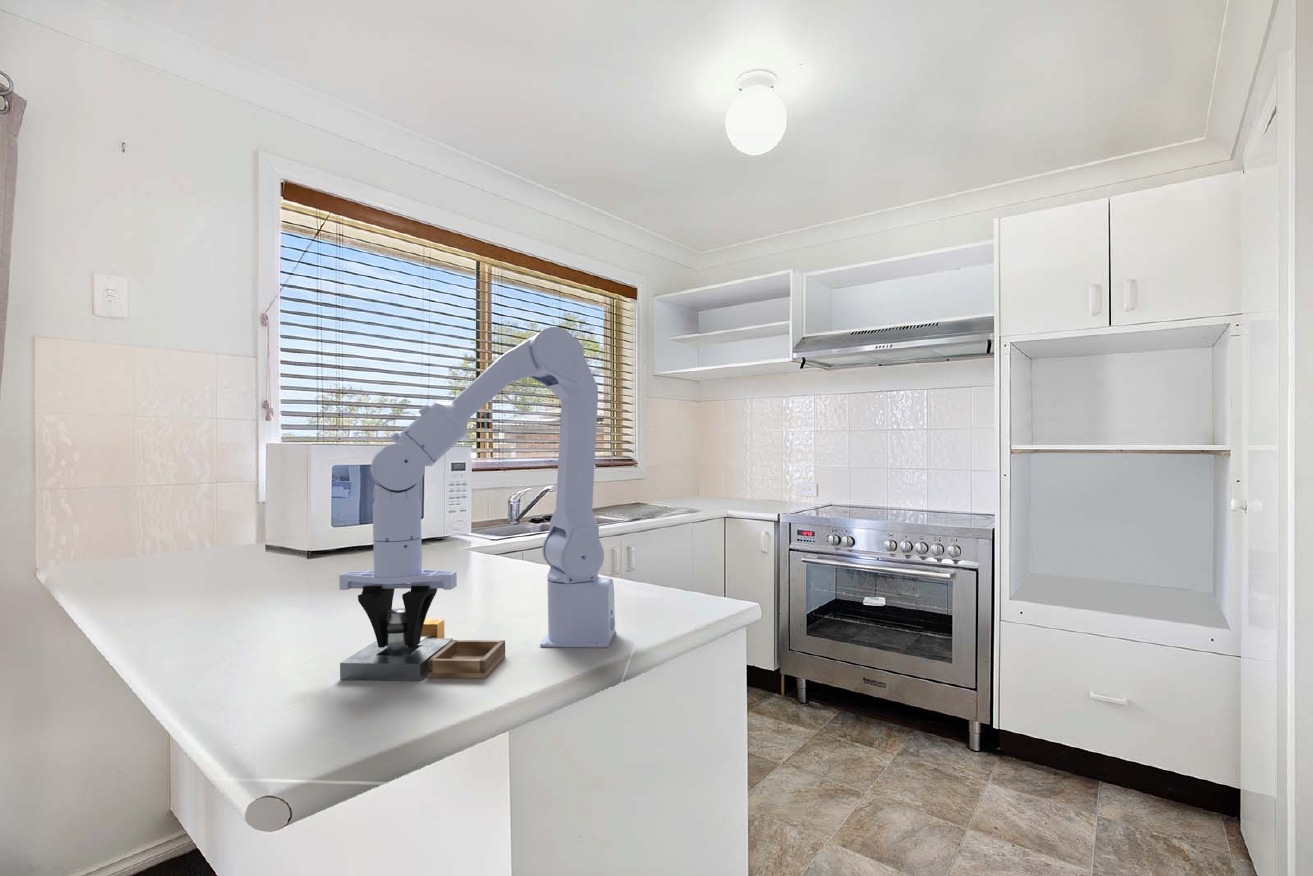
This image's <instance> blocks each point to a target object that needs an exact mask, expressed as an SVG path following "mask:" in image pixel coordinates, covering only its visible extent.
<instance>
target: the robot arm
mask: <svg viewBox="0 0 1313 876" xmlns="http://www.w3.org/2000/svg"><path fill="white" fill-rule="evenodd" d="M527 378H531V379H533V380H535V381H537V382H538V383H541V384H542V385H545V387H547V388H548V389H549V390H550V391H551V392H552V393H553V394H554V395H555V396H556V397H557V398H558V399H559V400H560V403H561V406H560V423H559V442H558V443H559V444H558V458H557V459H558V461H557V479H556V480H557V481H556V482H557V484H556V499H555V500H556V502H555V510H554V512H553V514H552V516H551V518H550V521H549V530H548V532H547V535H546V537H545V539H543V543H542V551H541V552H542V556H543V559H544V561H545V562H546V564H547V565H548V566H549V567H550V569H549V571H548V573H547V574H546V575H547V577H546V578H547V627H548V628H547V629H548V633H547V635H546V636H545V637H544V638H543V639H542V640H541V642H540V644H539V647H540V648H596V649H597V648H599V649H600V648H605V649H606V648H608V647H609V645H610V644H611V642H612V640H613V638H614V635H615V633H616V619H615V617H616V615H615V611H616V609H615V586H614V579H613V578H611V577H601V576H599V571H600V570H601V569H602V567H603V563H604V559H605V552H604V548H603V546H602V543H601V541H600V534H599V533H600V526H599V524H598V522H597V519H596V517H595V514H594V512H593V505H594V504H593V503H594V500H593V499H594V484H595V483H594V482H595V481H594V480H595V466H596V465H595V464H596V462H595V461H596V443H597V441H596V440H597V422H598V421H597V420H598V404H599V403H598V402H599V400H598V399H599V388H598V383H597V382H596V379H595V377H594V376H593V373H592V370H591V368H590V365H589V364H588V362H587V360H586V358H585V351H584V345H583V344H582V343H581V342H580V341H579V340H578V339H577V338H576V337H574V336H573V335H572V334H571V332H569V331H568V330H566V329H565V328H562V327H559V326H549V327H545V328H543V329H542V330H541V331H540V332H538V333H537V334H535V335H533V336H528V337H527V338H526V339H524V340H523V341H522V342H521V343H520V344H518V345H517V346H515V347H513V348H511V349H509V350H508V351H506V352H505V353H503V354H502V355H500V356H499V357H498V358H496V359H495V360H494V361H493V362H492V363H491V364H490V365H488V367H487V368H486V369H484V371H483V372H482V373H481V374H480V375H478V377H476V378H475V379H474V380H473V381H472V382H471V383H470V384H469V385H468V386H467V387H466V388H465V389H464V390H463V391H461V393H459V394H458V395H457V396H456V397H455V398H454V399H453V400H452V401H451V402H445V401H444V402H443V401H436V402H434V403H433V404H432V405H431V406H429V405H428V404H425V405H423V407H421V408H420V409H419V410H418V413H419V414H420V416H418V417H417V418H416V419H415V420H414V421H412V422H411V423H410V424H409V425H408V426H407V427H406V428H405V429H403V430H402V431H401V432H400V433H399V432H397V431H395V432H394V433H393V434H391V436H390V439H391V440H392V441H393V442H394V443H391V444H388V445H386V446H384V447H383V448H380V449H379V450H378V451H377V452H376V453H375V455H374V456H373V458H372V461H371V464H370V467H369V472H370V473H369V474H370V475H371V478H372V479H373V481H374V482H375V483H376V484H375V483H374V488H373V491H372V494H373V499H374V502H373V504H372V529H373V530H372V534H373V535H372V537H373V538H372V539H373V541H372V542H373V570H362V571H346V572H344V573H341V574H339V576H338V577H339V591H347V590H350V589H354V590H356V589H358V590H359V589H362V591H361V593H360V594H358V595H357V600H358V602H359V604H360V605H361V607H362V608H363V610H364V612H365V613H366V615H367V617H368V620H369V621H370V623H371V626H372V629H373V632H374V635H375V640H376V641H377V643H378V647H379V648H384V647H385V646H387V638H386V632H385V621H386V612H387V611H388V610H392V609H393V601H394V594H395V589H396V590H397V589H410V590H408V591H407V592H404V593H403V594H402V595H401V596H402V602H403V606H404V608H405V612H406V619H407V645H408V648H414V647H415V646H417V645H418V644H419V643H420V638H421V633H422V628H423V624H424V621H425V619H427V618H426V617H427V614H428V613H429V612H428V611H429V609H430V607H431V605H432V603H433V600H434V598H435V596H436V594H437V592H438V589H443V590H446V591H450V590H453V589H454V588H456V587H457V585H458V583H457V582H458V580H457V579H458V578H457V576H458V575H457V571H450V570H448V571H447V570H436V569H435V570H434V569H423V564H422V563H423V561H422V560H423V559H422V558H423V557H422V556H423V555H422V552H423V551H422V504H421V503H422V502H421V500H420V484H419V483H420V482H421V481H422V480H423V479H422V478H423V477H424V474H425V468H426V467H432V466H434V465H435V463H436V462H438V461H439V459H441V458H442V457H443V456H444V455H445V454H446V453H447V452H449V450H451V449H452V448H453V447H454V446H455V445H456V444H457V443H458V442H460V441H461V440H462V439H463V438H464V437H465V436H466V435H467V433H468V422H469V419H470V418H471V417H472V416H473V415H475V414H476V413H477V412H478V411H479V410H481V409H482V408H483V407H484V406H485V405H486V404H488V403H489V402H490V401H491V400H492V399H493V398H495V397H496V396H497V395H498V394H499V393H500V392H502V391H503V390H504V389H505V388H506V387H507V386H509V385H510V384H512V382H517V381H520V380H521V381H522V380H524V379H527Z"/></svg>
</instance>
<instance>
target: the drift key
mask: <svg viewBox="0 0 1313 876" xmlns="http://www.w3.org/2000/svg"><path fill="white" fill-rule="evenodd" d="M426 638H445V619H436V618H435V619H432V618H431V619H429V618H428V619H427V618H425V621H424V624H423V628H422V633H421V638H420V642H422V641H423V640H425V639H426ZM416 649H417V646H415V647H414V648H412V652H414V651H415V650H416Z"/></svg>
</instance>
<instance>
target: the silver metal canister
mask: <svg viewBox="0 0 1313 876" xmlns="http://www.w3.org/2000/svg"><path fill="white" fill-rule="evenodd" d="M385 632H386V638H387V655H390V656H408V655H410V654H411V653H412V648H408V645H407V619H406V612H405V607H397V608H392V610H388V611H387V612H386V621H385Z"/></svg>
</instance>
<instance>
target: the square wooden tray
mask: <svg viewBox="0 0 1313 876" xmlns="http://www.w3.org/2000/svg"><path fill="white" fill-rule="evenodd" d="M504 658H506V640H501V639H500V640H498V639H497V640H496V639H495V640H492V639H490V640H487V639H485V640H484V639H481V640H480V639H479V640H478V639H476V640H473V639H469V640H468V639H453V641H452V642H451V643H449V644H448V645H447V646H445V647H444V648H443V649H442V650H440V651H439V652H438V653H437V654H435V655H434V656H433V657H431V658H430V659H429V660H428V675H427V678H428V679H429V678H430V679H432V678H433V679H486V678H487V677H488V675H489V674H491V672H493V670H494V669H495V668H496V667H497V666H498V665H499V664H500V663H501V662H502V661H503V660H504Z"/></svg>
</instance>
